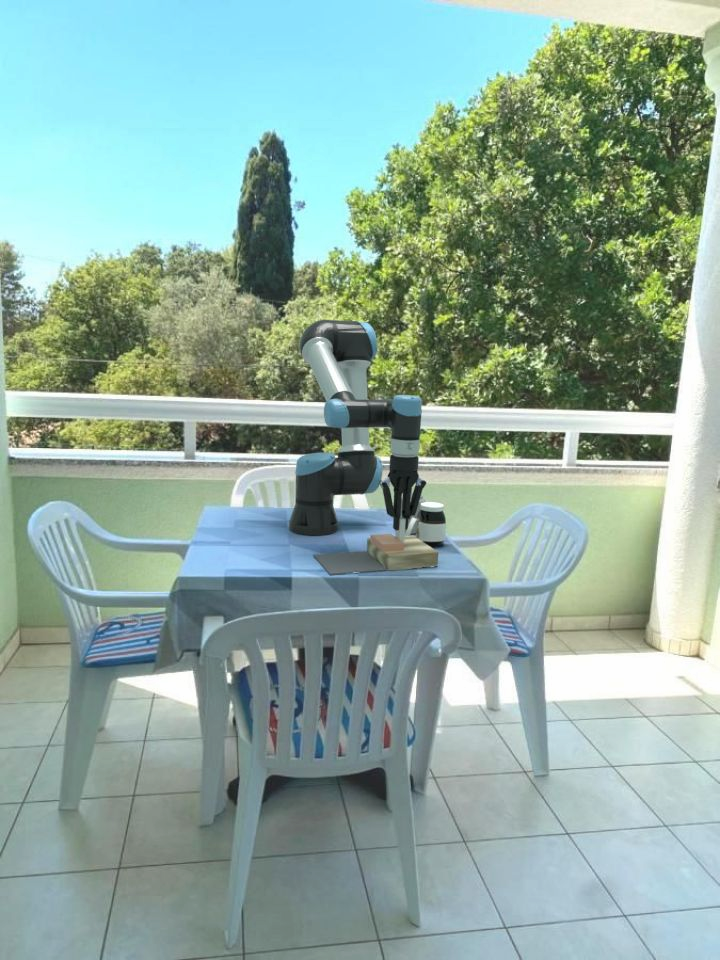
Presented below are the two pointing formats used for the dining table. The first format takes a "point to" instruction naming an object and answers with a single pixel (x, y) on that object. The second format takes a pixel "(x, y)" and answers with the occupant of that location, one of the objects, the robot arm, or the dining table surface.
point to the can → (416, 512)
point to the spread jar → (429, 524)
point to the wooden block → (405, 555)
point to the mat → (348, 562)
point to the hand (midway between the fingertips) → (399, 541)
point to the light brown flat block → (387, 542)
